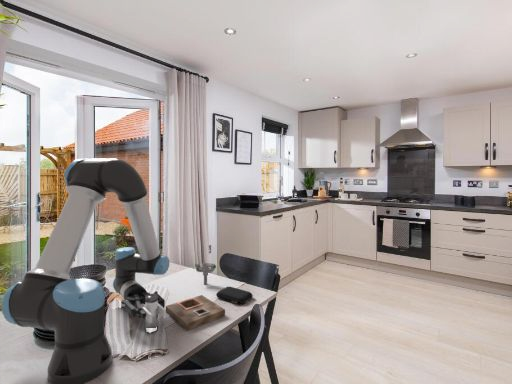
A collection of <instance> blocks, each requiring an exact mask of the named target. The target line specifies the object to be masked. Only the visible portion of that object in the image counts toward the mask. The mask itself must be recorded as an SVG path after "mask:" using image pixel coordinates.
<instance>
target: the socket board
mask: <svg viewBox="0 0 512 384" xmlns="http://www.w3.org/2000/svg"><path fill="white" fill-rule="evenodd" d="M165 309H166V315H168V316H169V317H170V318H171V319H173V321H175V322H176V323H177V324H178V325H179V326H181V327H182V328H183V329H184V330H185V331H189V330H192V329H195V328H197V327H200V326H203V325H205V324H208V323H211V322H214V321H216V320H218V319H221V318H224V317H225V316H226V309H225V308H223V307H222V306H220V305H218V304H217V303H215V302H214V301H212V300H211V299H209V298H207V297H206V296H204V295H202V294H201V295H197V296H194V297H192V298H191V297H190V298H187V299H184V300H181V301H178V302H175V303H172V304H168V305H165Z"/></svg>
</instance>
